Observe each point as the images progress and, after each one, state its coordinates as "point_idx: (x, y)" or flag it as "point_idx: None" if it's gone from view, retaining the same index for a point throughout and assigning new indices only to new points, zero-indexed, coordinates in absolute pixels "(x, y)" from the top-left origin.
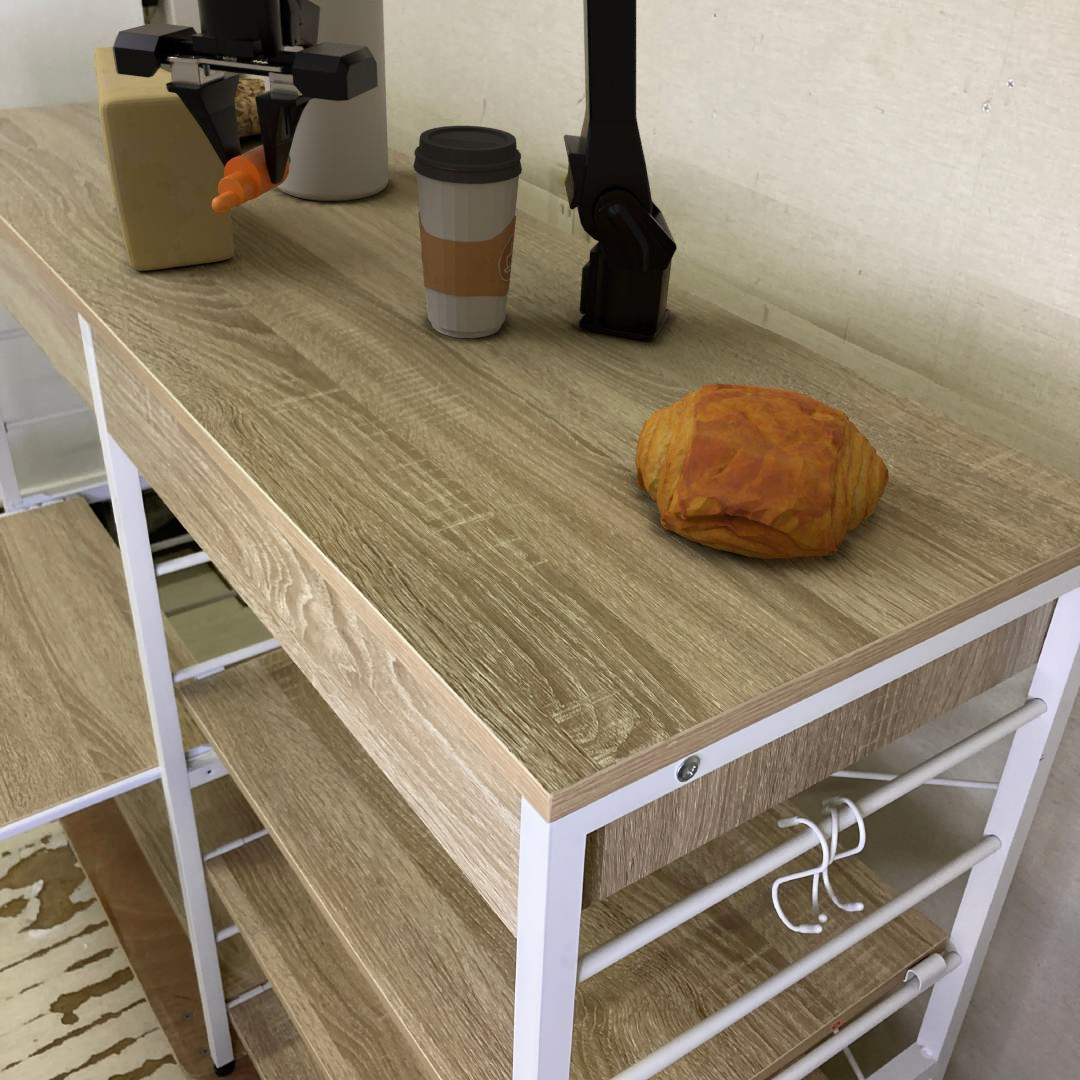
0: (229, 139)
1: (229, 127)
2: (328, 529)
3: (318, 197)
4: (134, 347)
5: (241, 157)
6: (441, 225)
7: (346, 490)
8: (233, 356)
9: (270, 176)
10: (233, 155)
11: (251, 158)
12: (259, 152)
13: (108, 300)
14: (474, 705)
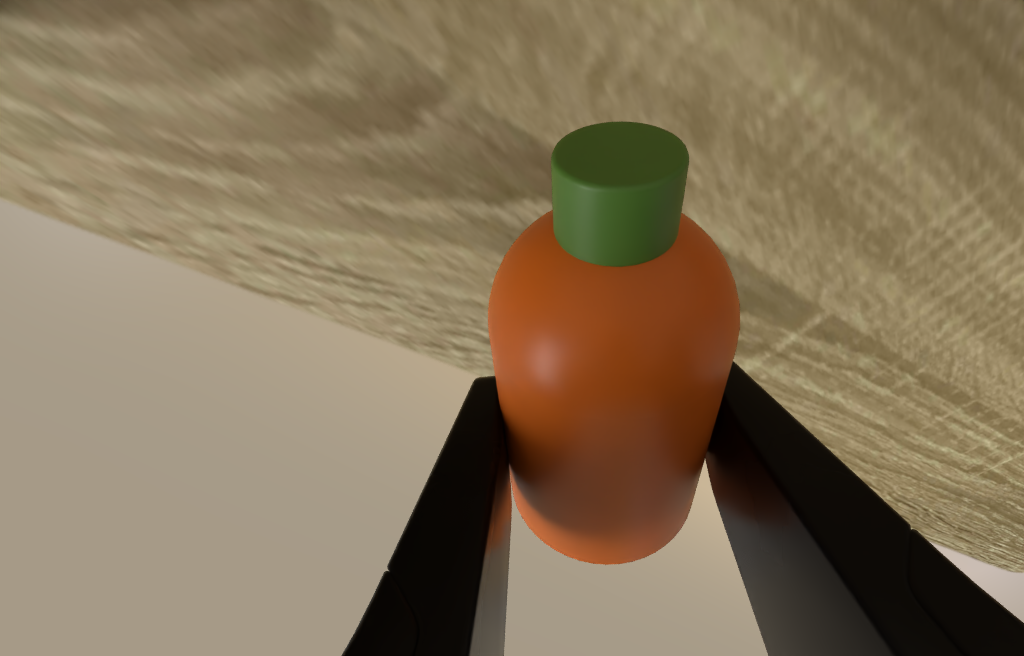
0: (499, 582)
1: (488, 637)
2: None
3: None
4: (403, 342)
5: (619, 563)
6: None
7: (871, 464)
8: None
9: None
10: (506, 496)
11: (656, 541)
12: (653, 493)
13: (141, 214)
14: (986, 561)
